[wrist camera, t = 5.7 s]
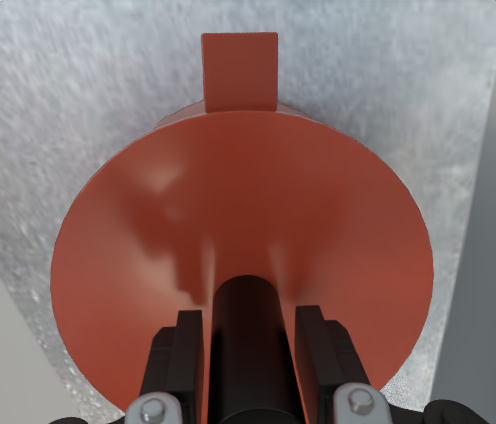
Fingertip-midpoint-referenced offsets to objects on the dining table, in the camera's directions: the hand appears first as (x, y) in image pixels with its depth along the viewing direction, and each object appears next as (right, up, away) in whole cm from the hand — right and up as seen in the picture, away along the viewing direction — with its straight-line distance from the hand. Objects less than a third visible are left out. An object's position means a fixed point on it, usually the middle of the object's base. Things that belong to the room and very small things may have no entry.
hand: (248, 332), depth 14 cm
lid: (0, +1, +2) cm, 2 cm away
